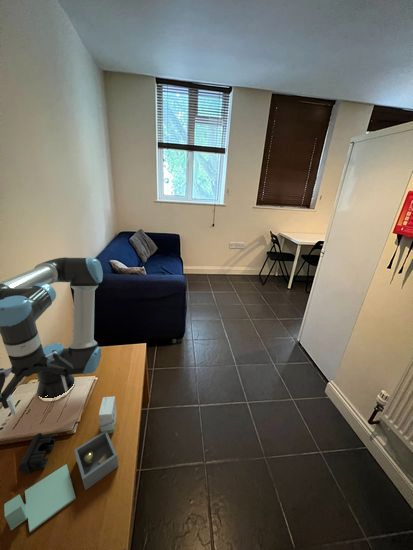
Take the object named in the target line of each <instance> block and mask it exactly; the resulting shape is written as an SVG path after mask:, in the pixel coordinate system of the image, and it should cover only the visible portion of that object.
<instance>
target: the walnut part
mask: <svg viewBox="0 0 413 550" xmlns="http://www.w3.org/2000/svg"><path fill="white" fill-rule="evenodd" d="M109 458H110V457H109V456H108V455H106V454H105V455H104V456H103V457H102V458H101V459H100V460H99V461H98V464H99V465H100V464H101V463H103V462H104V461H106V460H107V459H109Z"/></svg>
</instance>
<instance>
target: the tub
mask: <svg viewBox="0 0 413 550" xmlns="http://www.w3.org/2000/svg"><path fill="white" fill-rule="evenodd" d="M87 451H92V452H93V455H94V463H93V464H92V465H91V466H89V467H87V466H86V465H85V461H84V454H85V453H86V452H87ZM73 452H74V456H75V460H76V464H77V468H78V470H79V474H80V477H81V481H82V485H83V487H84V491H87V490H88V489H89V488H91V487H92V486H93V485H95V484H96V483H98V482H100V480H102V479H103V478H104V477H106V476H108V475H109V474H110V473H112V472H113V471H114V470H115V469H116V468H118V467H119V458H118V454H117V451H116V449H115V447H114V445H113V442H112V440H111V438H110V435H109V434H108V433H107V431H104V432H102V433H101V432H100V433H99V434H98V435H96V436H95V437H93V438H91V439H88V440H87V441H86V442H85V443H83V444H81V445H80V446H78V447H76V448H74V450H73ZM105 454H106V455H108V456H109V457H110V458H109V459H107V460H106V461H104V462H103V463H101V464H100V465H99V464H98V461H99V460H100V459H101V458H102V457H103V456H104V455H105Z"/></svg>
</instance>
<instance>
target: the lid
mask: <svg viewBox="0 0 413 550" xmlns="http://www.w3.org/2000/svg"><path fill="white" fill-rule="evenodd" d="M24 496H25V503H24V501H23V498H22V497H21V494H18V495H16V496H15V497H13V498H11V499H10V500H8V501H6V503H4V504H3V506H4V508H3V509H4V518H5V520H6V523H7V524H8V527H9V528H10V531H13V530H14V529H15V528H17V527H18V526H19V525H21V524H22V523H23V522H25V521H26V520H27V521H28V522H27V523H28V530H29V533H31V532H33V531H34V530H36V529H37V528H38V527H40V526H41V525H42V524H43V523H45V522H46V521H47V520H49V519H50V518H52V517H53V516H54V515H56V514H57V513H58V512H59V511H61V510H63V508H65V507H66V506H68V505H69V504H70V503H71V502H73V501H74V500H76V498H77V497H76V494H75V490H74V487H73V482H72V479H71V476H70V471H69V468H68V464H67V463H66V464H64V465H63V466H61V467H59V468H58V469H55V470H54V472H52V473H51V474H49V475H47V476H45V477H44V478H42V479H41V480H39V481H38V482H36V483H35V484H33V485H31V486H30V487H28V488H27V489H25V490H24Z"/></svg>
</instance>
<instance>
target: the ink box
mask: <svg viewBox="0 0 413 550" xmlns="http://www.w3.org/2000/svg"><path fill="white" fill-rule="evenodd" d="M117 414H118V413H117V405H116V396H115V395H113V396H103V397H102V400H101V404H100V407H99V412H98V421H99V422H98V423H99V428H100V434H101V433H102V432H104V431H107V433H108V435H109V434H110V435H111V434H114V432H115V427H116V422H117Z"/></svg>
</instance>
